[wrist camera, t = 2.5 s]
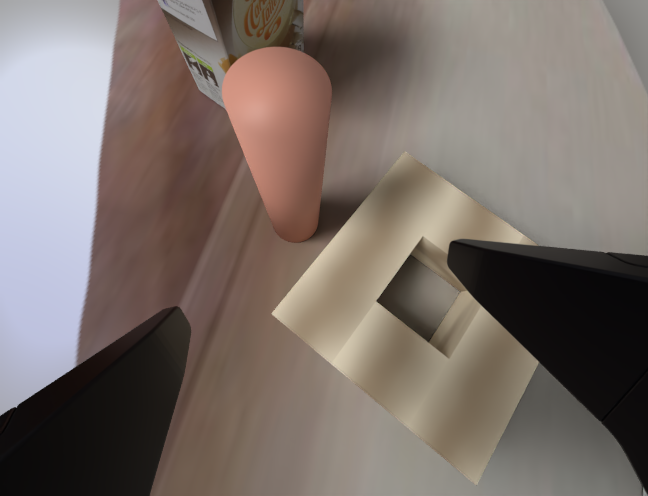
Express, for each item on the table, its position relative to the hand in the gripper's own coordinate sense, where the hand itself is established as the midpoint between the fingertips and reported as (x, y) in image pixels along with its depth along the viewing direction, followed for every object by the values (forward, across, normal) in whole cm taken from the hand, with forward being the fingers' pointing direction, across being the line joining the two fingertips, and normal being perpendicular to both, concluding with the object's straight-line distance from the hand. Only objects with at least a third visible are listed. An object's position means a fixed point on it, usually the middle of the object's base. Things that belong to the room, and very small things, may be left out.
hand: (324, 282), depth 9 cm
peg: (+14, 0, -4) cm, 15 cm away
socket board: (+8, +8, -11) cm, 16 cm away
